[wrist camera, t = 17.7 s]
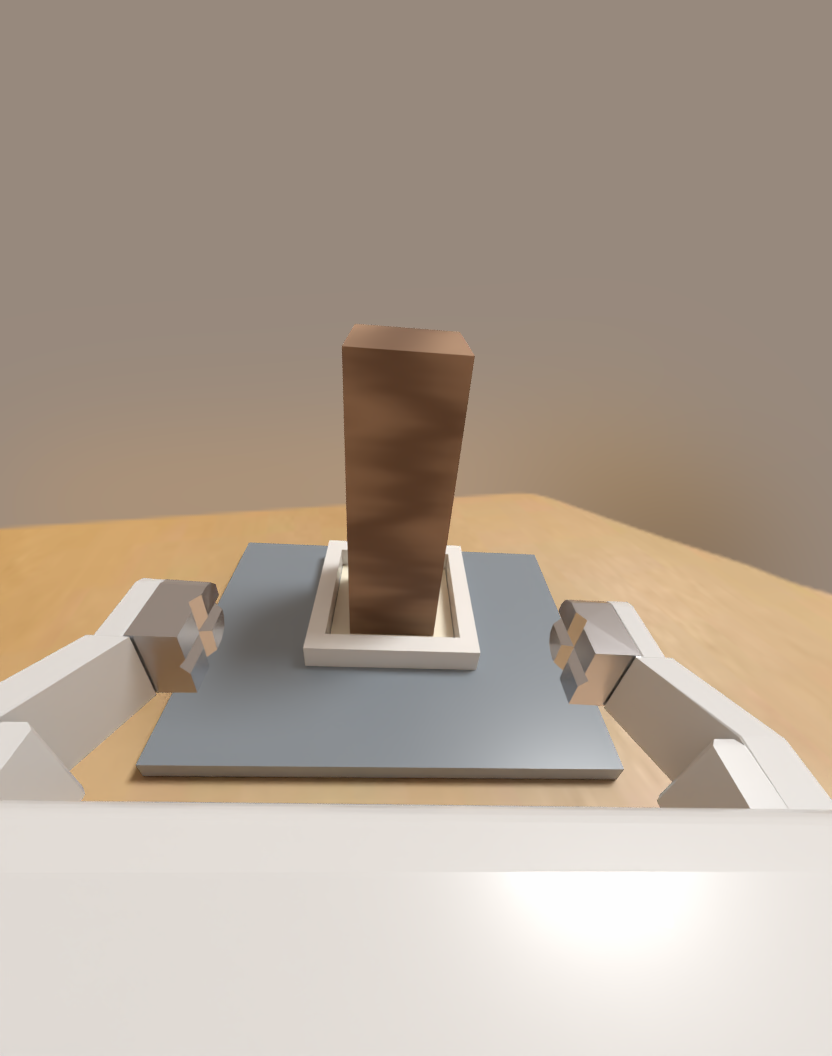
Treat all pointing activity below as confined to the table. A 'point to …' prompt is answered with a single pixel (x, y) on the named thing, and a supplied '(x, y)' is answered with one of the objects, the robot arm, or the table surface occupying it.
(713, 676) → the table surface
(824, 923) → the robot arm
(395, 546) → the pillar
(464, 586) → the socket
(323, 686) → the board
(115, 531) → the table surface
